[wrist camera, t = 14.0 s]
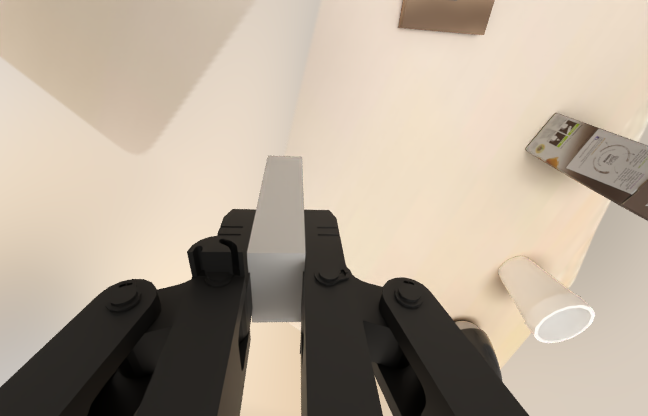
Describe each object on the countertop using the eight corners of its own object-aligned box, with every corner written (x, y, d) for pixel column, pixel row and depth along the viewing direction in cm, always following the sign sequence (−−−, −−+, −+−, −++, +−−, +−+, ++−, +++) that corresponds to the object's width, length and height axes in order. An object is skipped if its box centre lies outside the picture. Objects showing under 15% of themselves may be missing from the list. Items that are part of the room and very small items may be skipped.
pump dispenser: (474, 307, 64) (518, 378, 52) (481, 333, 70) (523, 404, 57) (428, 323, 66) (460, 396, 53) (439, 347, 71) (470, 419, 58)
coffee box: (522, 150, 46) (618, 205, 32) (555, 111, 43) (676, 153, 29) (562, 172, 48) (667, 232, 35) (596, 137, 45) (724, 187, 32)
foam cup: (535, 279, 61) (587, 336, 50) (489, 289, 62) (531, 348, 51) (541, 244, 56) (601, 298, 45) (491, 256, 57) (538, 312, 46)
